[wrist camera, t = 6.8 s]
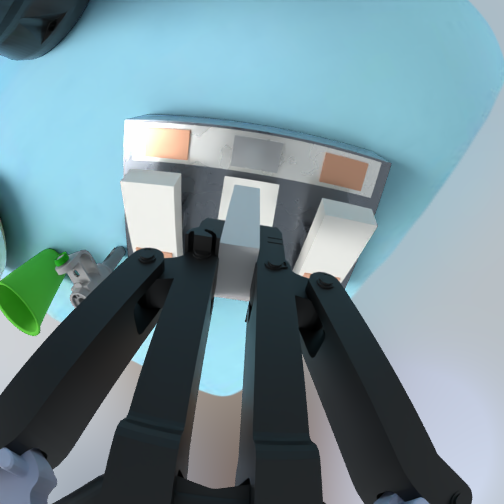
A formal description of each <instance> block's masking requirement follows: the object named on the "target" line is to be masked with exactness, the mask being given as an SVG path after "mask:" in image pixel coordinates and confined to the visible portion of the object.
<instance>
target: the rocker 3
mask: <svg viewBox="0 0 504 504" xmlns="http://www.w3.org/2000/svg"><path fill="white" fill-rule="evenodd" d="M377 226H378V225H377V222H376V219H375V217H374V214H373V211H372V209H369V208H365V207H361V206H357V205H352V204H348V203H344V202H339V201H334V200H330V199H325V198H322V200H321V203H320V205H319V208H318V210H317V213H316V215H315V218H314V220H313V223H312V225H311V228H310V230H309V233H308V235H307V238H306V240H305V242H304V245H303V247H302V250H301V252H300V254H299V257H298V259H297V261H296V264H295V266H294V269H293V272H294V273H296V274H298V275H300V276H303V277H306V278H309V277H310V275H311V274H313V273H315V272H325V273H328V274H331V275H332V276H334V277H335V278H337V279H338V281H339V282H340V283H342V281H343V280H344V278H345V277H346V275H347V274H348V272H349V271H350V269H351V268H352V266H353V265H354V263H355V262H356V260H357V258H358V257H359V255H360V254H361V252H362V251H363V249H364V247H365V246H366V244H367V243H368V241H369V239H370V238H371V236H372V235H373V233H374V231H375V230H376V228H377Z"/></svg>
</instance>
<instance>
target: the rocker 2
mask: <svg viewBox="0 0 504 504" xmlns="http://www.w3.org/2000/svg"><path fill="white" fill-rule="evenodd" d="M234 185H242V186H248V187H254V188H260V225H264V226H270V227H272V226H273V220H274V214H275V208H276V202H277V196H278V190H279V185H278V184H273V183H267V182H261V181H255V180H249V179H243V178H236V177H229V176H225V177H224V183H223V190H222V196H221V202H220V209H219V215H218V219H219V220H226V216H227V212H228V208H229V204H230V200H231V196H232V193H233V189H234ZM249 300H250V297H249Z"/></svg>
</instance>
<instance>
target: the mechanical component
mask: <svg viewBox="0 0 504 504" xmlns="http://www.w3.org/2000/svg"><path fill="white" fill-rule="evenodd" d="M124 255H125V249H124V248H123V247H122V246H119V247H117V249H115V248H114V249H113V250H112V251H111V253H110V254H109V255H108V256H107V258H106V259H105V260H104V262H103V263H98V264H96V262H95V261H94V259H93V257H92V255H91V254H90V253H89V252H88V251H87V250H81V251H78V252H76V253H73V254H70V255H68V254H67V253H66V252H63V253H61V254H60V255H58V256H57V257H56V258H55V259H54V262H55V264H56V267H55V270H56V271H57V273H58V275H62V274H65V273H67V274H68V276H69V277H70V279H71V280H72V282H73V284H74V286H73V287H72V288H71V290H72V294H71V295H70V301H71V303H72V305H73V306H74V307H75V308H76V307H77V306H78V305H79V304H80V303H81V302H82V301H83V300H84V299H85V298H86V297H87V296H88V295H89V294H90V293H91V292H92V291H93V290H94V289H95V288H96V287H97V286H98V285H99V284H100V283H101V282H102V281H103V280H104V279H105V278H107V277H108V276H109V275H110V274H111V273H112V272H113V270H114V269H115V267H116V266H117V264H118V263H119V262H120V260H121V259H122V258H123V256H124ZM75 270H76V271H78V273H79V274H80V275H77V274H76V273H75Z"/></svg>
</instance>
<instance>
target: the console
mask: <svg viewBox="0 0 504 504" xmlns="http://www.w3.org/2000/svg"><path fill="white" fill-rule="evenodd" d="M390 167H391V163H390V162H389V161H387V160H385V159H384V158H382V157H380V156H379V155H377V154H375V153H373V152H372V151H369V150H366V149H363V148H359V147H356V146H353V145H349V144H345V143H342V142H338V141H334V140H330V139H326V138H322V137H318V136H314V135H310V134H305V133H301V132H296V131H291V130H286V129H281V128H276V127H270V126H264V125H258V124H252V123H245V122H238V121H230V120H222V119H213V118H203V117H191V116H176V115H153V114H147V115H143V116H138V117H134V118H130V119H125V127H124V156H123V177H124V176H125V175H126V174H127V173H128V171H129V170H130V169H141V170H152V171H163V172H173V173H181V207H182V241H183V255H184V252H185V233H186V232H187V231H188V230H190V229H192V228H196V227H199V226H200V223H201V222H202V221H203V220H205V219H206V218H212V219H218V215H219V209H220V202H221V196H222V190H223V183H224V177H225V176H229V177H236V178H243V179H249V180H255V181H261V182H267V183H273V184H278V185H279V190H278V196H277V202H276V208H275V214H274V220H273V226H272V227H276V228H278V229H279V230H280V232H281V233H282V237H283V245H284V252H285V260H286V261H287V262H288V263H289V264H290V266H291V271H293V269H294V266H295V264H296V261H297V259H298V257H299V254H300V252H301V250H302V247H303V245H304V242H305V240H306V238H307V235H308V233H309V230H310V228H311V225H312V223H313V220H314V218H315V215H316V213H317V210H318V208H319V205H320V203H321V200H322V198H325V199H330V200H334V201H339V202H344V203H348V204H352V205H357V206H361V207H365V208H369V209H372V211H373V214H374V215H375V213H376V210H377V207H378V204H379V201H380V198H381V195H382V192H383V189H384V186H385V183H386V180H387V176H388V173H389V170H390ZM124 210H125V208H124ZM125 226H126V239H127V249H128V257H129V256H130V255H131V254H133V249H132V244H131V240H130V235H129V230H128V225H127V219H126V214H125ZM357 260H358V258H357ZM357 260H356V262H357ZM356 262H355V263H354V265H353V266H352V268H351V269H350V271H349V272H348V274H347V275H346V277H345V278H344V280H343V281H342V283H341V285H342V286H343V288H344V289H345V288H346V285H347V283H348V281H349V278H350V276H351V274H352V271H353V269H354V267H355V264H356Z"/></svg>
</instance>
